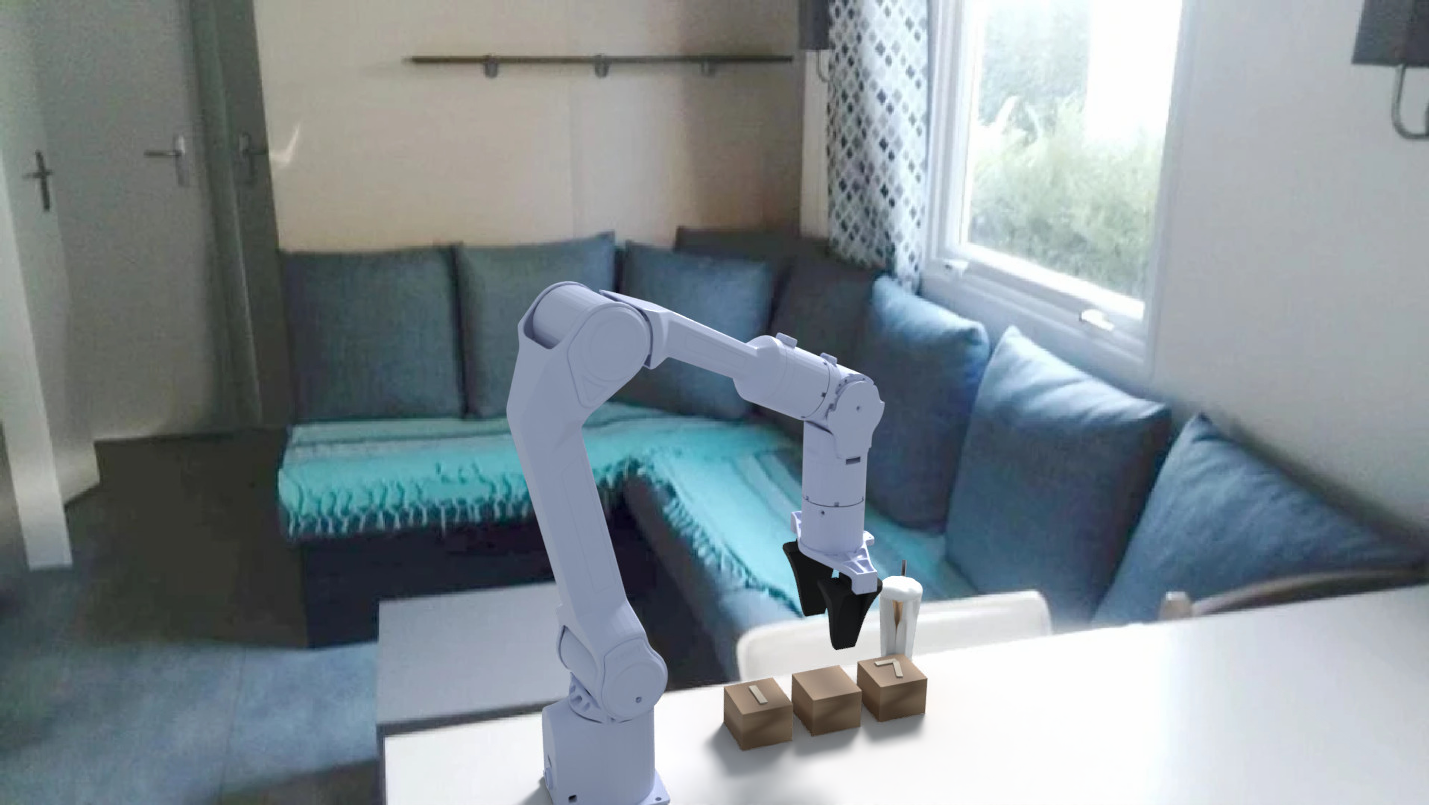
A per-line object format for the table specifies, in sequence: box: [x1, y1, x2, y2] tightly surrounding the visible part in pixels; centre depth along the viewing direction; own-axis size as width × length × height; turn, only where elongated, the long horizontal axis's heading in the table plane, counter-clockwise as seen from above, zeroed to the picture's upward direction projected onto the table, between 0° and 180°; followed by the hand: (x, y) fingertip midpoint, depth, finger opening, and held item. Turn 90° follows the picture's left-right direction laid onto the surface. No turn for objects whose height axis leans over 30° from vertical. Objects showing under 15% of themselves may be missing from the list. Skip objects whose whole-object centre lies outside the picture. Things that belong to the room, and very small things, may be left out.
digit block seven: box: [855, 653, 929, 724], centre depth 112 cm, size 5×5×4 cm
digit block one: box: [723, 677, 794, 752], centre depth 108 cm, size 5×5×4 cm
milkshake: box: [877, 559, 924, 662], centre depth 120 cm, size 4×5×10 cm
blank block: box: [790, 664, 862, 738], centre depth 110 cm, size 5×5×4 cm
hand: (828, 630), depth 108 cm, fingers open, 6 cm apart
